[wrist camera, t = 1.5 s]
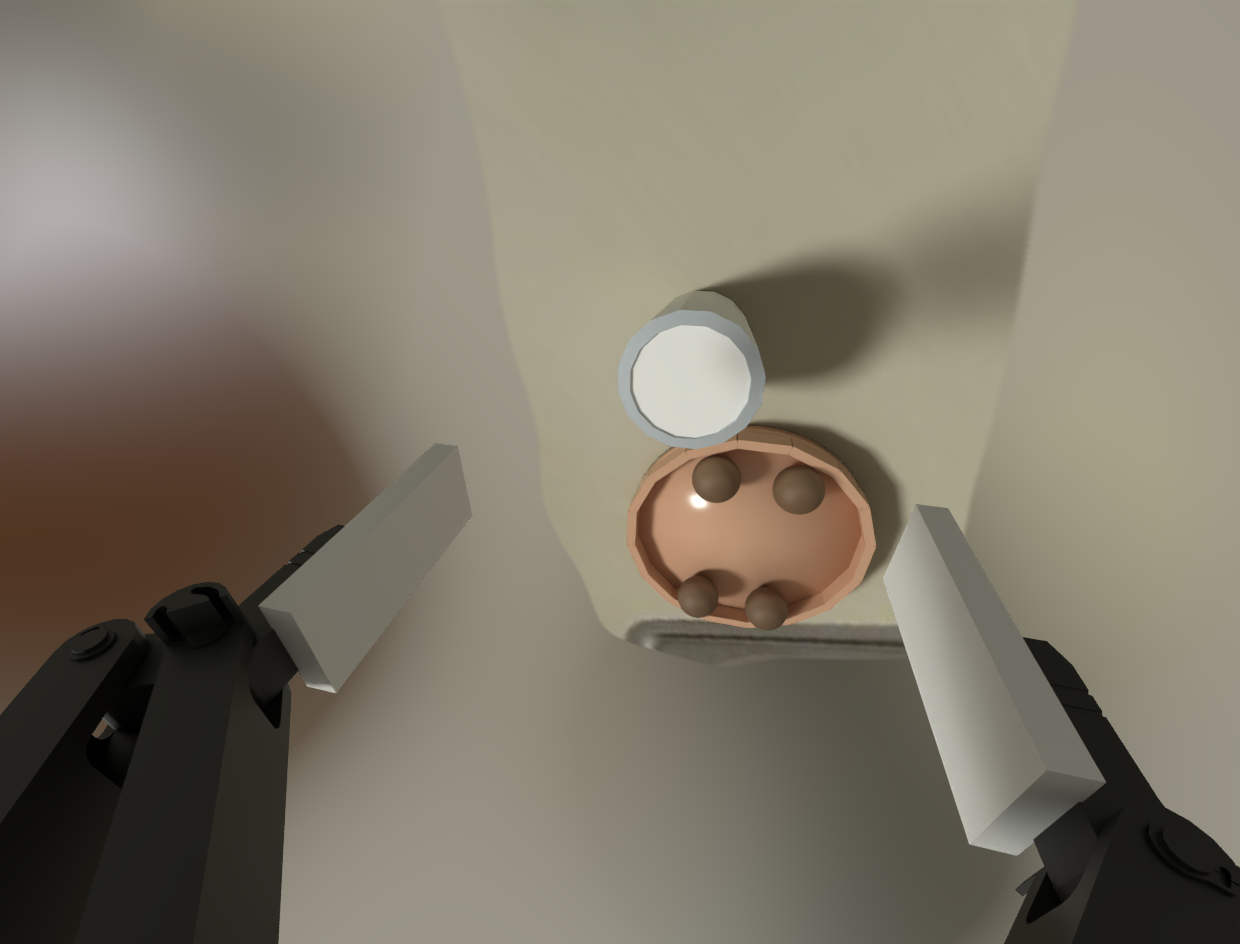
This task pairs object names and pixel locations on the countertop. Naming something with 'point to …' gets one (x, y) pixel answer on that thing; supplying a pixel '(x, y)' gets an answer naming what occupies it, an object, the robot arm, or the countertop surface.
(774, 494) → the bead
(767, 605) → the bead
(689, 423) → the white cup
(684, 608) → the bead
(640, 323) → the countertop surface
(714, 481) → the bead
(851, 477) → the tray
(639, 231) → the countertop surface
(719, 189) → the countertop surface
